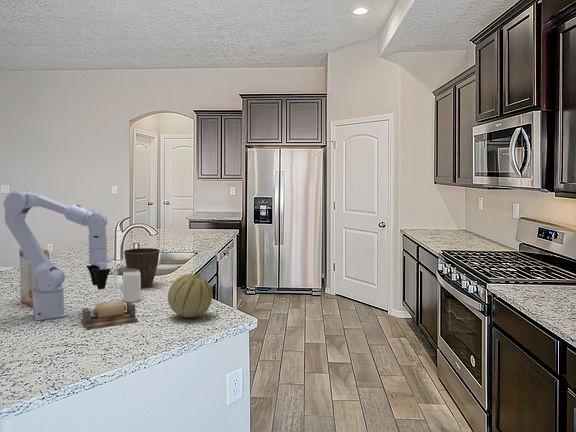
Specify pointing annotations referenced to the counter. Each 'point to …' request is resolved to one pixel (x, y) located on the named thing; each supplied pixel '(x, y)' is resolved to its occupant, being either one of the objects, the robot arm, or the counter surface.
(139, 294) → the can
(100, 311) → the bottle
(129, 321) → the cradle
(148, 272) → the plant pot
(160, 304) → the counter surface
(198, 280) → the cantaloupe
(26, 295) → the cracker box
